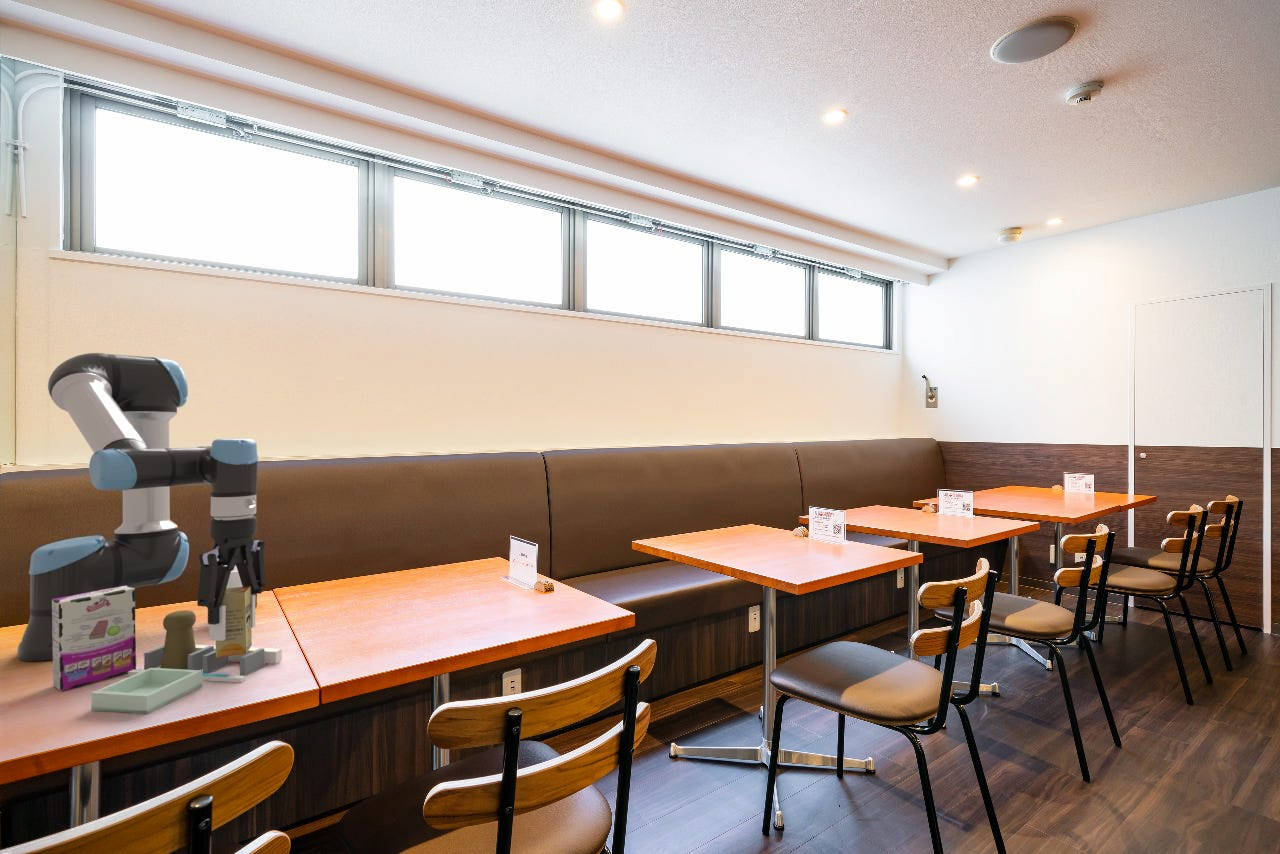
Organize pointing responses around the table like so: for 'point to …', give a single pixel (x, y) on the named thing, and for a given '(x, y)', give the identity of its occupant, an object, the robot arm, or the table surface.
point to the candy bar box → (93, 636)
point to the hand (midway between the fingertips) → (233, 632)
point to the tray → (146, 690)
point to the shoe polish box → (236, 622)
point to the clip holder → (217, 661)
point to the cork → (178, 639)
